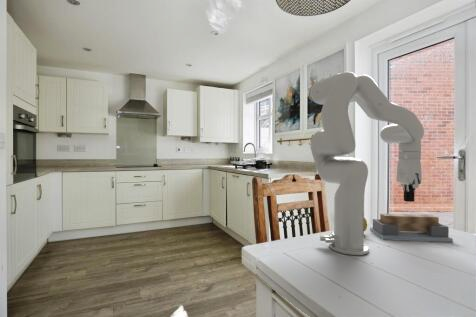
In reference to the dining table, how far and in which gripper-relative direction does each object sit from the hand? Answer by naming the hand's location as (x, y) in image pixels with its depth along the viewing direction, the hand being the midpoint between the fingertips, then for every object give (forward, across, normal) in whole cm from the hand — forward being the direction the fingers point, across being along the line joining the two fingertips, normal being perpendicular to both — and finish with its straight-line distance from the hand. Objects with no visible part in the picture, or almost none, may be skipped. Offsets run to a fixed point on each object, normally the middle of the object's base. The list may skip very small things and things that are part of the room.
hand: (408, 201), depth 102 cm
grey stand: (+14, 0, 0) cm, 14 cm away
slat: (+12, 0, 0) cm, 12 cm away
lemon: (+14, 0, -19) cm, 24 cm away
